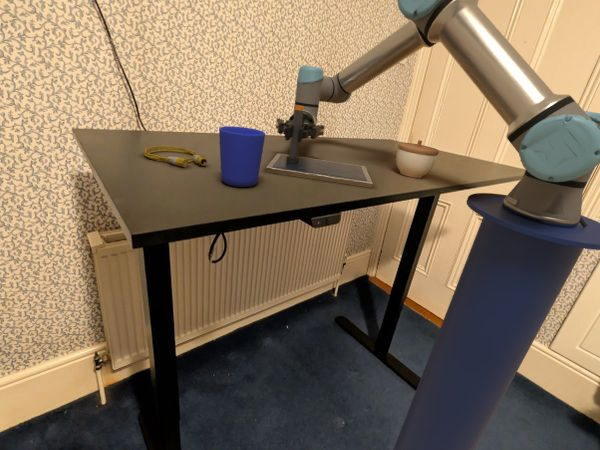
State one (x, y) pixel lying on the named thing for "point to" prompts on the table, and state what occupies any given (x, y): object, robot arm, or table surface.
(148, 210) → the table surface
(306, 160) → the tablet
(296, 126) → the stylus
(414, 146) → the trinket box
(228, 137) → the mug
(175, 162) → the extension cord
